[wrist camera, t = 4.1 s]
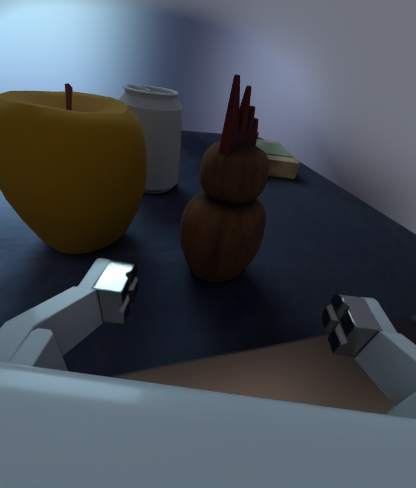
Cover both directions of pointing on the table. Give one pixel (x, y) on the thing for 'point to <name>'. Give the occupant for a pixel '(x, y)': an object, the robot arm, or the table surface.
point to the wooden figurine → (228, 198)
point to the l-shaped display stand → (278, 159)
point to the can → (158, 132)
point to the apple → (72, 166)
